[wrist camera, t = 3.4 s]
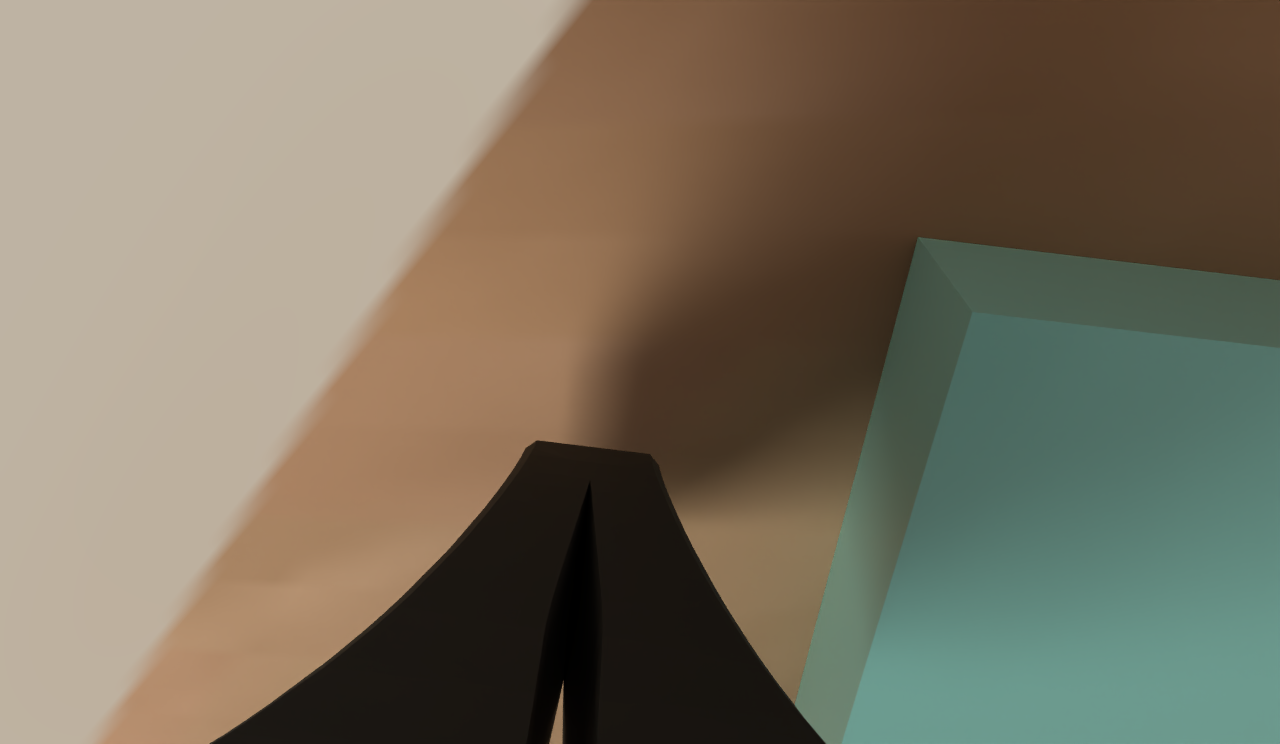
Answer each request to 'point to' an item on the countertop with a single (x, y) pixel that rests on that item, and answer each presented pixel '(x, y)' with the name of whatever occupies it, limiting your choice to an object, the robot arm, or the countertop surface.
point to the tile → (1061, 512)
